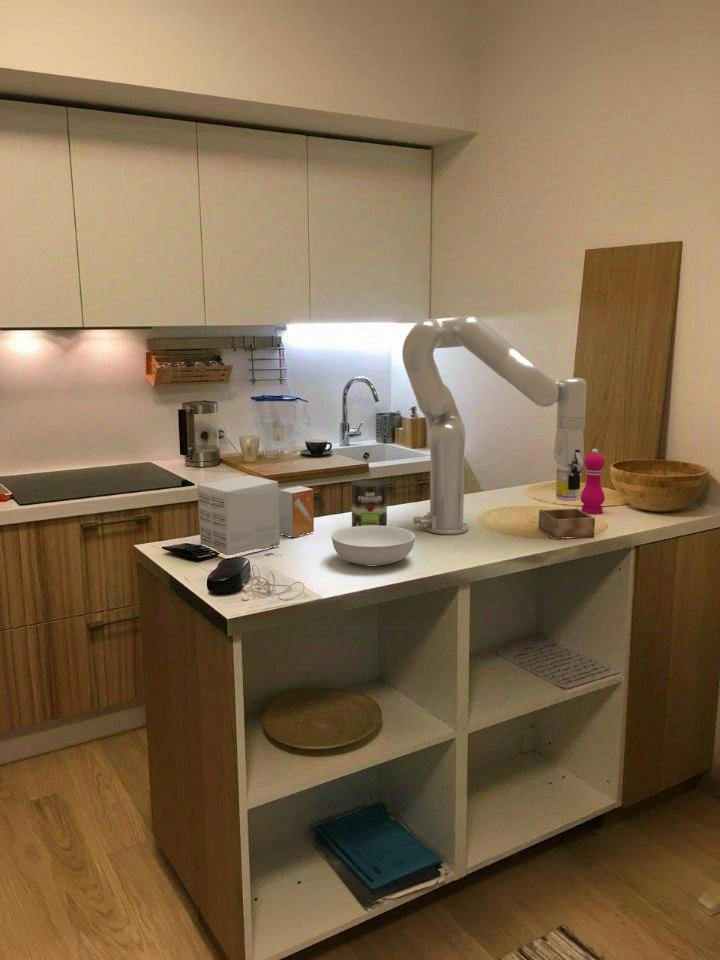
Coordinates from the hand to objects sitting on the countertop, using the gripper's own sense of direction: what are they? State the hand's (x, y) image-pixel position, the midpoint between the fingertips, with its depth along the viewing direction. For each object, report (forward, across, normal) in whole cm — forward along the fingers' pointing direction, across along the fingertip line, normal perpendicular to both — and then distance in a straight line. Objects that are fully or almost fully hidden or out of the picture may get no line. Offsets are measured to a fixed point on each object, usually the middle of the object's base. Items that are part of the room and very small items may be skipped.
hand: (568, 486), depth 225 cm
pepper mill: (+14, -22, +18) cm, 32 cm away
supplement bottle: (+4, 0, 0) cm, 4 cm away
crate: (+13, 0, 0) cm, 13 cm away
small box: (+13, -13, -75) cm, 77 cm away
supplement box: (+13, -1, -91) cm, 92 cm away
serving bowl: (+13, +16, -58) cm, 62 cm away
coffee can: (+13, -13, -54) cm, 57 cm away
